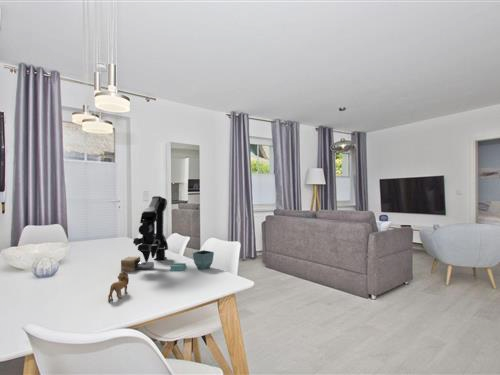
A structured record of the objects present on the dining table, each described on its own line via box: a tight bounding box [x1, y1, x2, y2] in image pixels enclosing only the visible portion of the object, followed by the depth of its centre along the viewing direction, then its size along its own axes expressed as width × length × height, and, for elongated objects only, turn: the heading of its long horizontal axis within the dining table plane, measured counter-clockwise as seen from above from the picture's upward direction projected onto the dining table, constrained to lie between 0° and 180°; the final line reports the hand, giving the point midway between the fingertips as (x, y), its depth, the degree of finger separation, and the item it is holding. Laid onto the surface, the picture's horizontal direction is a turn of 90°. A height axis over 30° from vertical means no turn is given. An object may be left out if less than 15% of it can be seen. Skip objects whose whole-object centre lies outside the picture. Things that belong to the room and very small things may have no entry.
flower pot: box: [192, 249, 215, 270], centre depth 165 cm, size 9×9×9 cm
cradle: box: [169, 262, 187, 272], centre depth 163 cm, size 8×7×2 cm
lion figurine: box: [107, 271, 130, 303], centre depth 121 cm, size 15×5×9 cm, turn 6°
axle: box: [135, 261, 155, 270], centre depth 165 cm, size 4×14×4 cm, turn 87°
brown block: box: [120, 256, 141, 272], centre depth 165 cm, size 9×7×6 cm
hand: (149, 259), depth 164 cm, fingers open, 9 cm apart
